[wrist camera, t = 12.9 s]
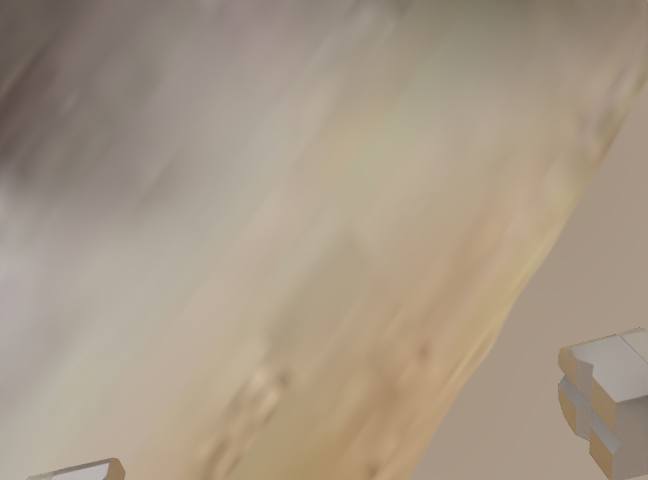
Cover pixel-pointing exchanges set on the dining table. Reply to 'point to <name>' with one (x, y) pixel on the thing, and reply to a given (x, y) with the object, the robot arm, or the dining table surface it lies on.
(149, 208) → the dining table surface
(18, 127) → the dining table surface
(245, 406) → the dining table surface
